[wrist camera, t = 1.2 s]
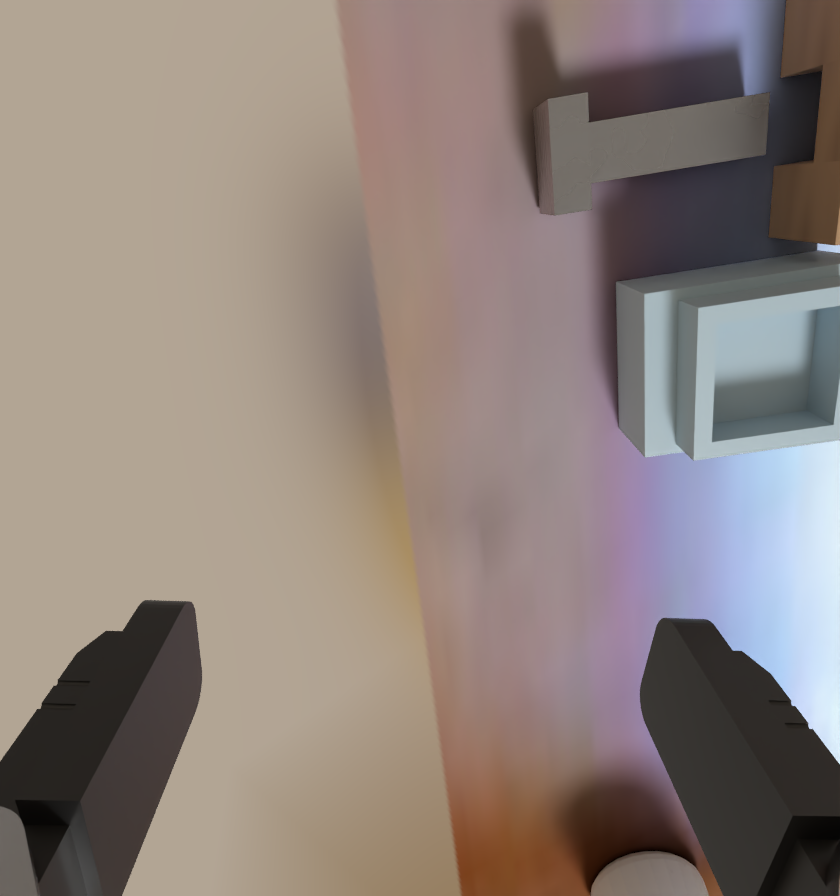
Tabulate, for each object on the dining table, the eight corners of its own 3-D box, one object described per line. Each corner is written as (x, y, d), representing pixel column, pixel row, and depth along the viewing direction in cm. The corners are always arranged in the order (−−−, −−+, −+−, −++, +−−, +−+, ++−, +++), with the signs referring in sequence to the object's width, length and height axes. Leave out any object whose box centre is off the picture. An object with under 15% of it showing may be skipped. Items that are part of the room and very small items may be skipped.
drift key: (749, 72, 26) (791, 57, 23) (743, 180, 28) (782, 178, 25) (533, 109, 27) (547, 98, 24) (539, 213, 28) (554, 215, 26)
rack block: (818, 250, 30) (911, 263, 24) (802, 401, 33) (881, 444, 27) (615, 281, 30) (661, 301, 24) (618, 428, 33) (660, 474, 28)
